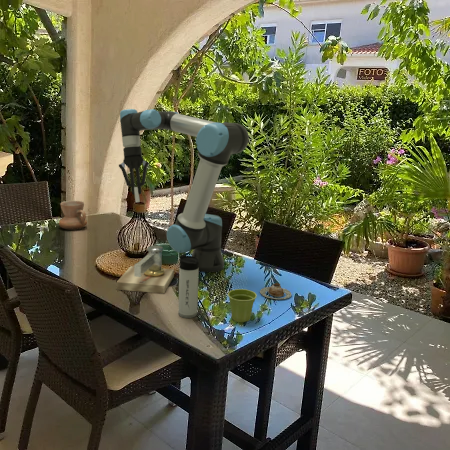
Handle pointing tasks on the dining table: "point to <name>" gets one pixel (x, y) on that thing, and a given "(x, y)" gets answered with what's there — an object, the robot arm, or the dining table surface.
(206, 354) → the dining table surface
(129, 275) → the stand
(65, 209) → the ceramic jug
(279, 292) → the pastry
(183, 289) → the travel mug
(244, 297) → the plant pot
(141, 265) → the grey lever handle
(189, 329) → the dining table surface
